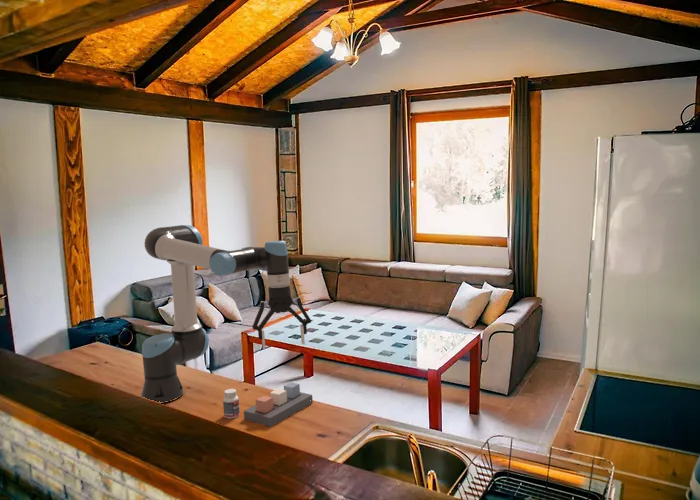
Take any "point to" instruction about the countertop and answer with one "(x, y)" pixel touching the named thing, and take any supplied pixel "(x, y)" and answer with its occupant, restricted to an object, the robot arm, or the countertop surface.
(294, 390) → the slate key
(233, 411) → the pill bottle
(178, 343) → the robot arm
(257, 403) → the terracotta key
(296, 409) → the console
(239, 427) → the countertop surface
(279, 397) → the white key
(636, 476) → the countertop surface
